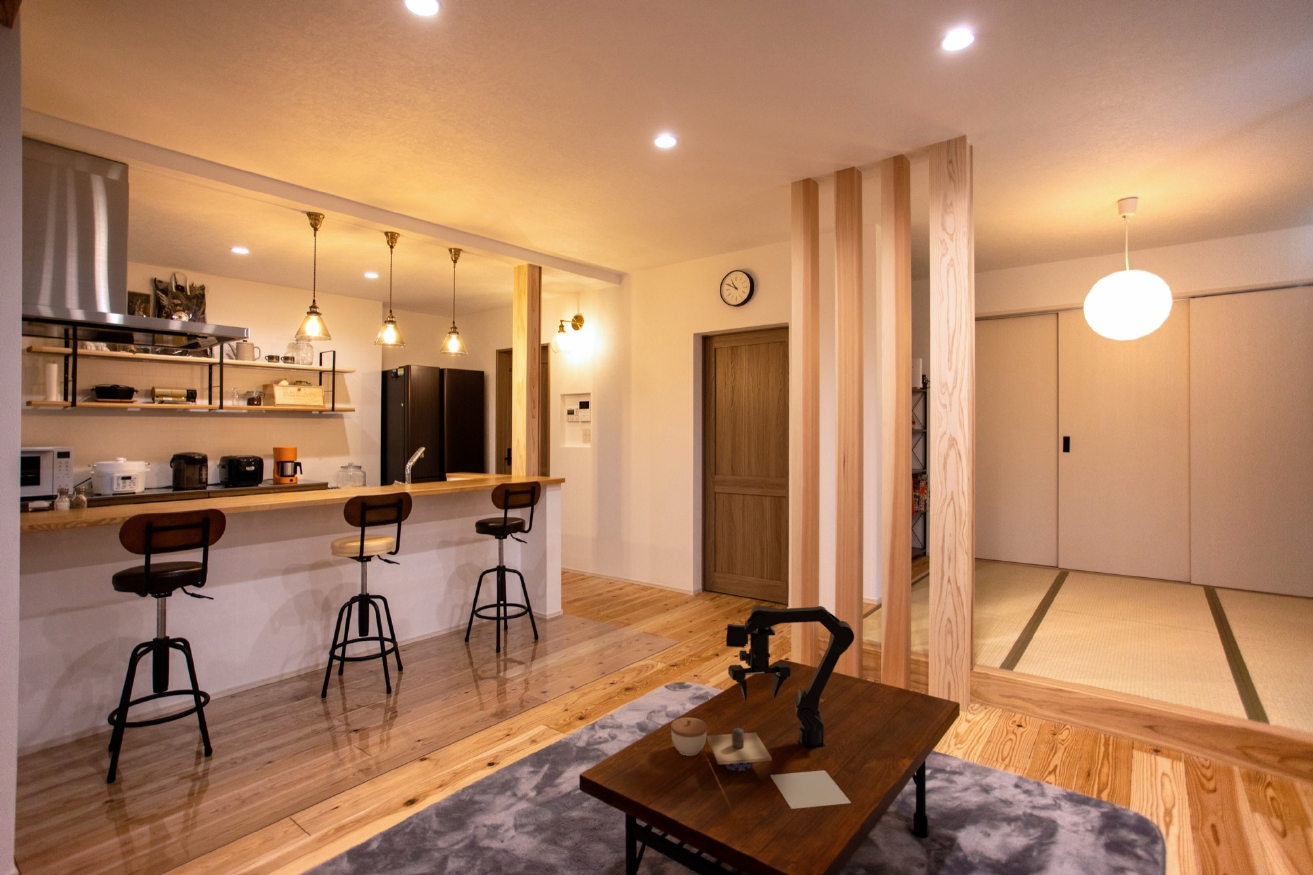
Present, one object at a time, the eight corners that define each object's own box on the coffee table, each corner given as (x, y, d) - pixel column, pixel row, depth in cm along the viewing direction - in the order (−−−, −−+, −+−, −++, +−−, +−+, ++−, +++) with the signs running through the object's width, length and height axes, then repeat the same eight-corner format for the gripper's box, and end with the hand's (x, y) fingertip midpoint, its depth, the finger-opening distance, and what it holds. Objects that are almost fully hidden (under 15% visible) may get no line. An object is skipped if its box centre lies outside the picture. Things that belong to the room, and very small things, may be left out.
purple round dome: (754, 782, 174) (754, 762, 174) (711, 774, 178) (711, 755, 178) (762, 760, 186) (762, 742, 186) (721, 754, 190) (721, 736, 190)
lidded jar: (704, 761, 184) (704, 729, 184) (667, 757, 187) (668, 725, 186) (708, 744, 195) (709, 713, 195) (674, 740, 197) (674, 710, 197)
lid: (755, 735, 190) (755, 717, 190) (771, 760, 176) (771, 741, 176) (706, 738, 188) (706, 720, 188) (718, 764, 173) (718, 744, 173)
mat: (824, 772, 179) (824, 770, 179) (851, 805, 163) (851, 802, 163) (770, 777, 176) (770, 775, 176) (791, 810, 160) (791, 808, 160)
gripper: (779, 638, 207) (779, 686, 207) (723, 641, 204) (723, 690, 204) (792, 649, 196) (792, 700, 196) (733, 653, 193) (733, 704, 193)
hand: (759, 698), depth 197 cm, fingers open, 9 cm apart
